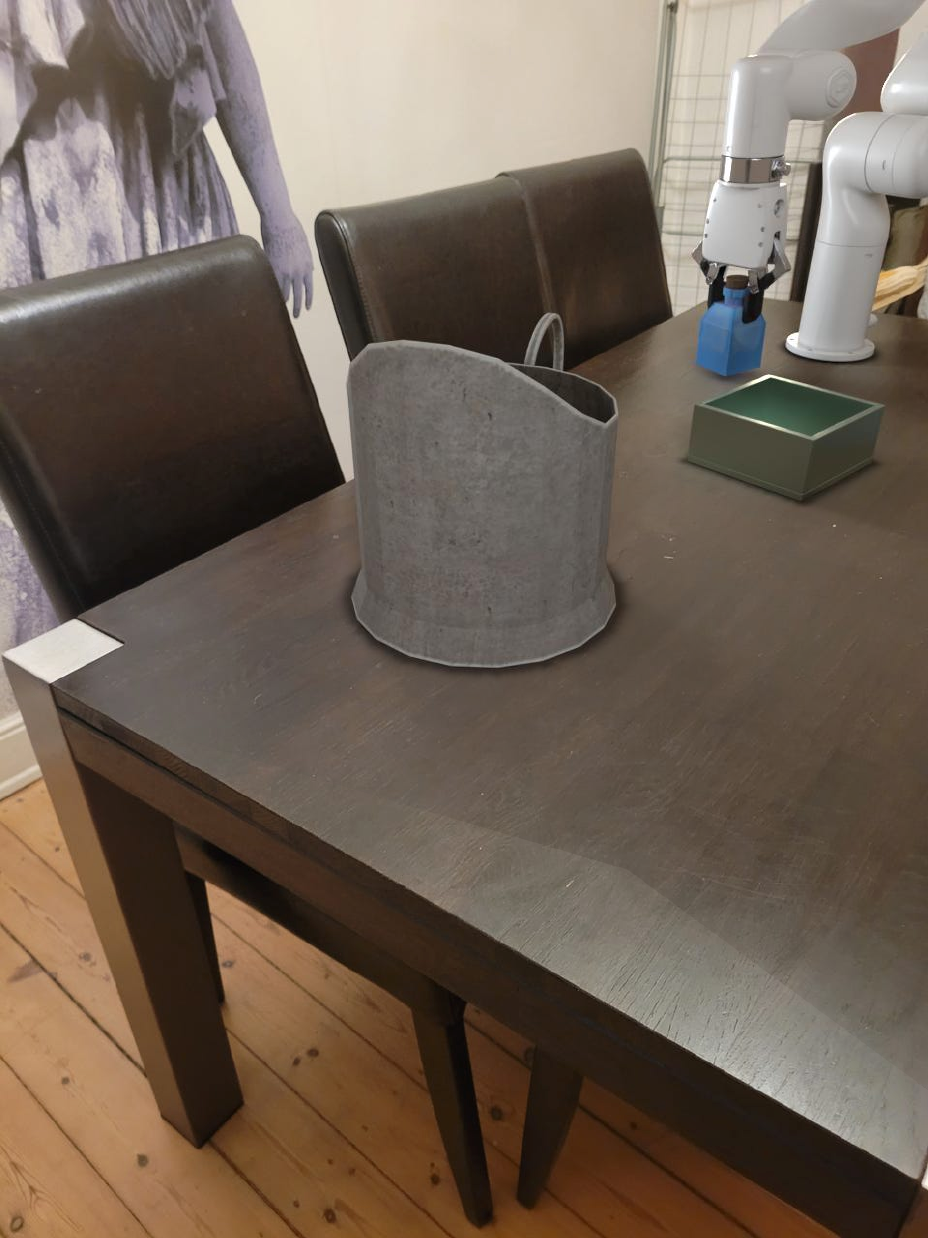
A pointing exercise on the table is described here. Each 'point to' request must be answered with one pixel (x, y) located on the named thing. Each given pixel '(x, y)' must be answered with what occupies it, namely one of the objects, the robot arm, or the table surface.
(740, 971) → the table surface
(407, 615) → the coal scuttle
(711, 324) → the perfume bottle
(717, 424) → the basket
